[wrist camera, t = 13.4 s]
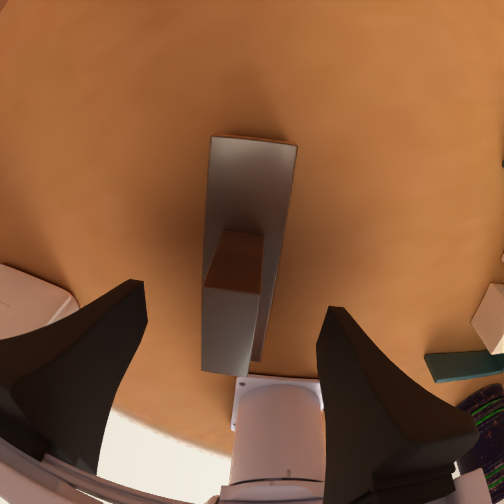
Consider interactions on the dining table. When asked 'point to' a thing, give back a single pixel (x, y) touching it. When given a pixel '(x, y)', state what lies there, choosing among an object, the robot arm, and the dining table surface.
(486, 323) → the beige cube
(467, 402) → the storage jar
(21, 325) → the photo printer
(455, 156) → the dining table surface
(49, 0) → the dining table surface
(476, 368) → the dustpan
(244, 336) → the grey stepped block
